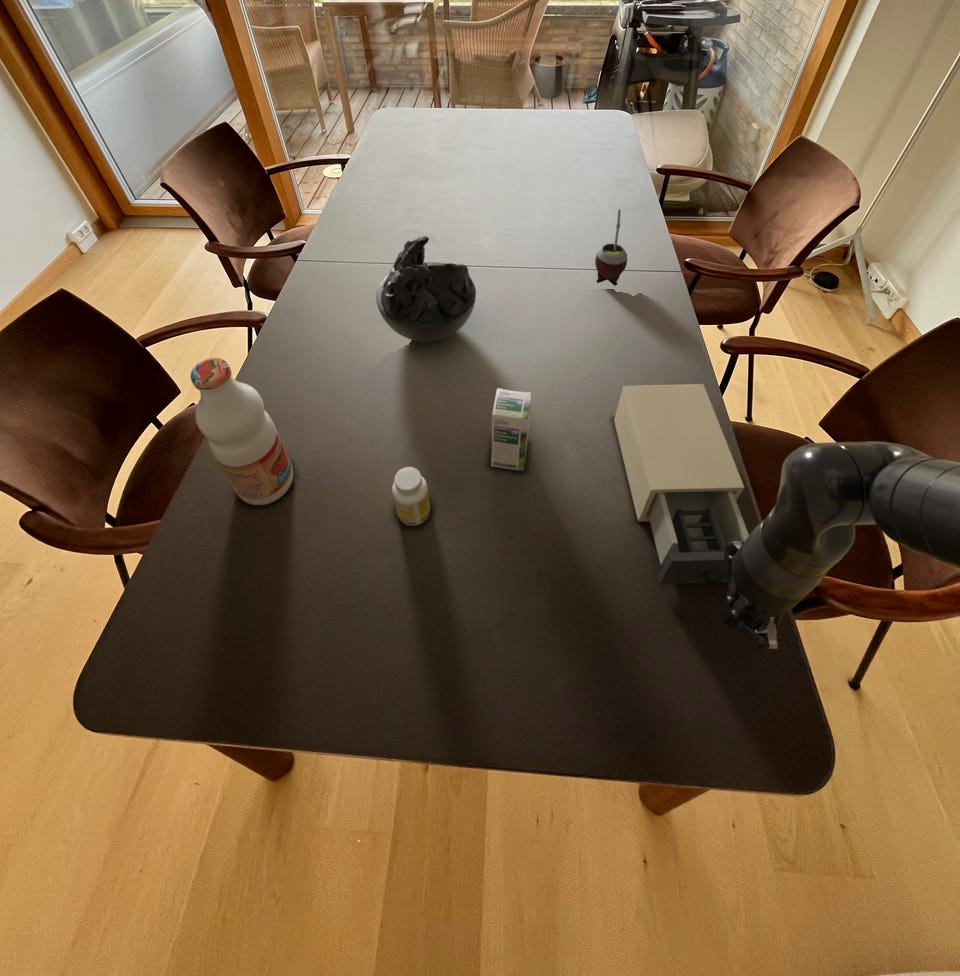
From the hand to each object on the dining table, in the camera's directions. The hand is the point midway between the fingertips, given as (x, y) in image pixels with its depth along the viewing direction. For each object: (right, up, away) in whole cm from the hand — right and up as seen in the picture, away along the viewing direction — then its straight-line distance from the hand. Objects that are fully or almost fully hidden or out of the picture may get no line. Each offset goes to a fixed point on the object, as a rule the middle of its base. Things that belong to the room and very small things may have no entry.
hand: (729, 617), depth 74 cm
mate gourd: (-3, +50, +60) cm, 78 cm away
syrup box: (-27, +16, +25) cm, 40 cm away
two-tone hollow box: (0, +7, +15) cm, 16 cm away
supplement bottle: (-43, +8, +18) cm, 47 cm away
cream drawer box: (-1, +14, +23) cm, 27 cm away
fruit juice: (-68, +12, +22) cm, 72 cm away
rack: (0, +5, +12) cm, 13 cm away
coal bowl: (-43, +38, +48) cm, 75 cm away
